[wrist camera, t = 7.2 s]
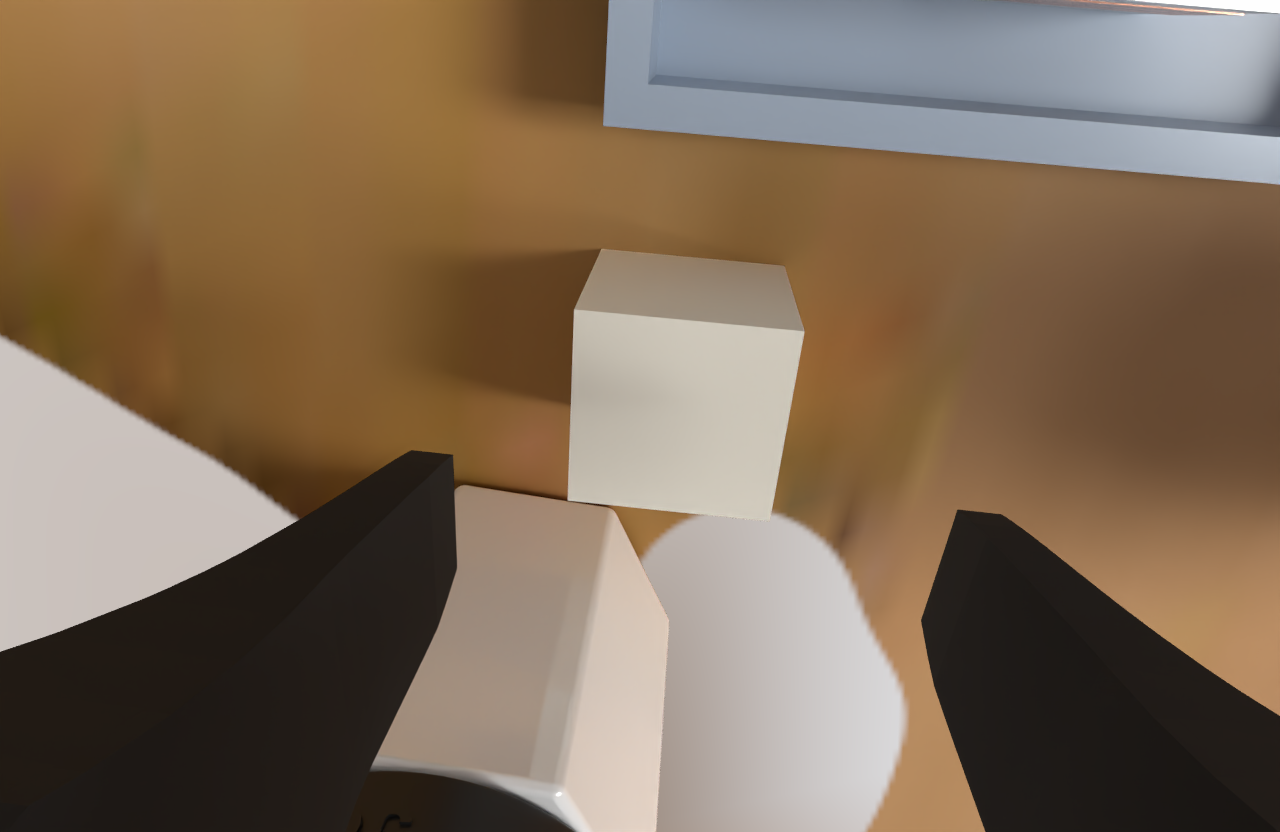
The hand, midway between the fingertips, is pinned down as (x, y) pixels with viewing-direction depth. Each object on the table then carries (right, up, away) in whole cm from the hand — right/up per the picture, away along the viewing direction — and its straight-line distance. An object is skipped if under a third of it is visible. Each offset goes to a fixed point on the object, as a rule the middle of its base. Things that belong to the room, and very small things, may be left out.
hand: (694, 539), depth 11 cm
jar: (-4, -4, +13) cm, 14 cm away
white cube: (0, +4, +9) cm, 10 cm away
